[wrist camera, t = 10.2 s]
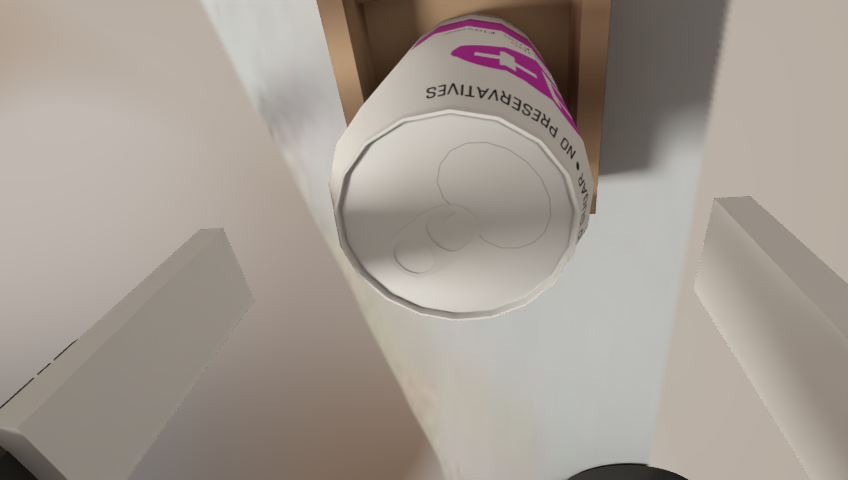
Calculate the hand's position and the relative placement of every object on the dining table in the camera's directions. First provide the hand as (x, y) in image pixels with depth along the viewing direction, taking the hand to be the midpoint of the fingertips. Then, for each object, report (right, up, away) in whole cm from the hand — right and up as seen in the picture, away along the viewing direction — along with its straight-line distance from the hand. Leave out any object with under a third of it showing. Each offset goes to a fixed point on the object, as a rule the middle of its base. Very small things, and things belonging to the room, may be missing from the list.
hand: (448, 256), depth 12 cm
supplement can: (+2, +9, +13) cm, 16 cm away
